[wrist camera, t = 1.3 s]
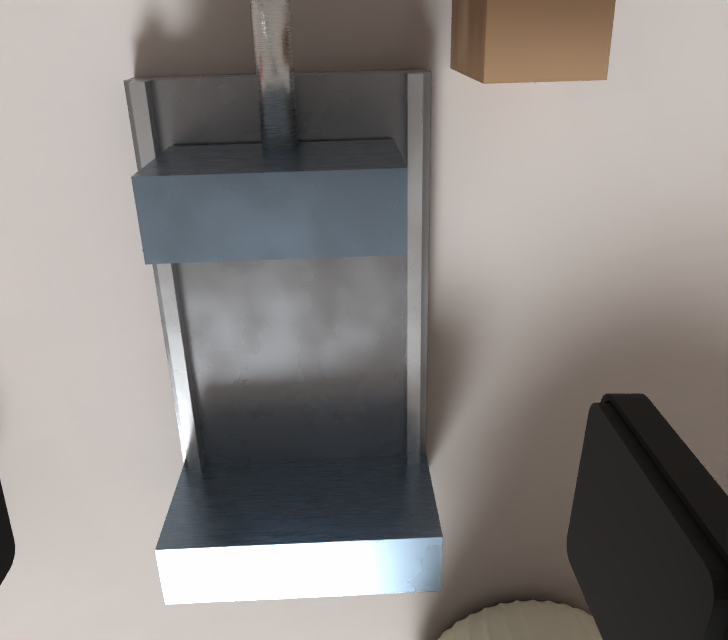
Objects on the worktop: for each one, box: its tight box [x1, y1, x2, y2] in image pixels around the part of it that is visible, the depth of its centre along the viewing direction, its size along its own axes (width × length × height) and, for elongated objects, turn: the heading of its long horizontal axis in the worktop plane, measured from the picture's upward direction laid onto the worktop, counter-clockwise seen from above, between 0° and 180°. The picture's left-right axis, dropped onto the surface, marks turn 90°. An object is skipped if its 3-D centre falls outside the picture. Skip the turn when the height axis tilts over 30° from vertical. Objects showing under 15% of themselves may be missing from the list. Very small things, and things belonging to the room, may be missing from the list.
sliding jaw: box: [131, 0, 408, 264], centre depth 24 cm, size 10×9×6 cm
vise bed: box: [124, 69, 443, 604], centre depth 29 cm, size 21×12×8 cm, turn 1°
